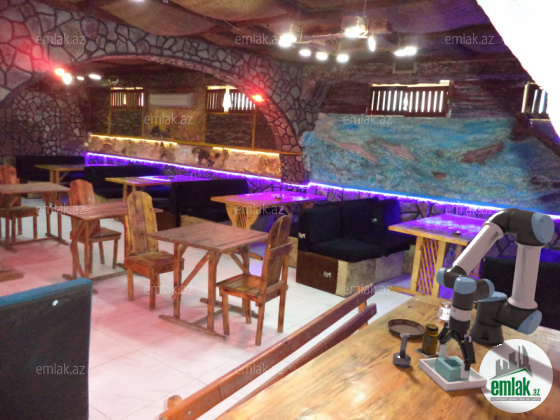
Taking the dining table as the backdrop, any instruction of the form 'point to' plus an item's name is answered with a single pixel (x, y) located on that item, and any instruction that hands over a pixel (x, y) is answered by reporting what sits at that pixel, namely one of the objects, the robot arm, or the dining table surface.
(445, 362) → the collar
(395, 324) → the plant saucer
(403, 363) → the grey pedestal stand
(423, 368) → the tray
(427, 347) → the condiment
